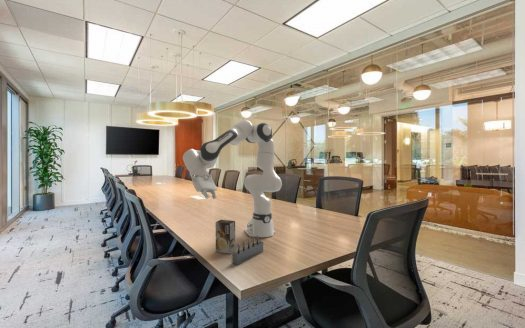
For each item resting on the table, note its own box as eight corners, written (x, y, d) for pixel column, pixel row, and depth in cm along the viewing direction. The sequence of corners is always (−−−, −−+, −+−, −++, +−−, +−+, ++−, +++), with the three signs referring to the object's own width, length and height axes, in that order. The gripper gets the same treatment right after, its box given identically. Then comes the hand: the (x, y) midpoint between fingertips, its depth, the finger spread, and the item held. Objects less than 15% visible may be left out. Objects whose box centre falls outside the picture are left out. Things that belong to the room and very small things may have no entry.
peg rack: (231, 263, 122) (231, 245, 122) (258, 250, 141) (258, 233, 140) (237, 265, 120) (237, 246, 120) (263, 251, 139) (263, 234, 138)
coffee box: (236, 250, 140) (236, 220, 140) (230, 254, 134) (230, 223, 134) (221, 247, 144) (221, 219, 143) (215, 251, 138) (215, 221, 137)
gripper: (196, 171, 131) (208, 194, 128) (212, 175, 150) (223, 195, 147) (186, 177, 131) (198, 201, 128) (203, 180, 151) (214, 201, 148)
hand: (211, 198), depth 138 cm, fingers open, 8 cm apart
